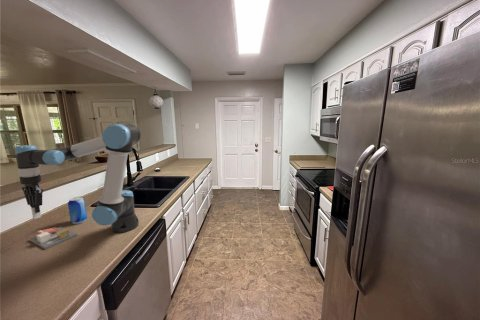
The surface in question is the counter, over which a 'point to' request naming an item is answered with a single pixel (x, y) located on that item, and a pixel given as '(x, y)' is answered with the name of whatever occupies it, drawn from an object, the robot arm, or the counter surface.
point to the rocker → (48, 230)
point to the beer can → (77, 210)
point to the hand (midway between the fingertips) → (37, 217)
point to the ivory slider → (43, 237)
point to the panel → (52, 239)
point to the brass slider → (62, 233)
